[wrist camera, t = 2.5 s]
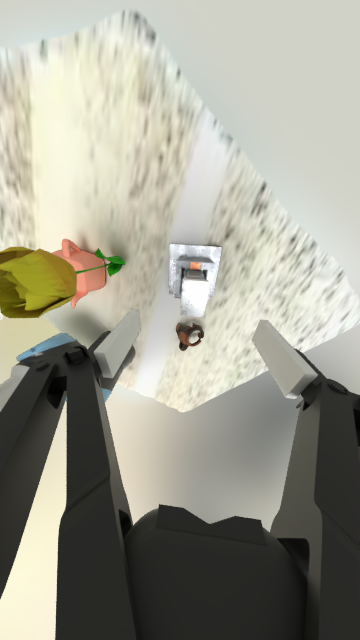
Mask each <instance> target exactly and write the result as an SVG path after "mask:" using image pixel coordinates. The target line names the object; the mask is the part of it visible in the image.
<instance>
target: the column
mask: <svg viewBox="0 0 360 640" xmlns="http://www.w3.org/2000/svg"><path fill="white" fill-rule="evenodd" d="M208 288H209V280H205V277H204V274H203V269H200V270H196V269H190V268H186V270H185V276H184V278H183V282H182V298H181V314H180V315H183V316H195V317H204V312H205V306H206V300H207V294H208Z"/></svg>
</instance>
